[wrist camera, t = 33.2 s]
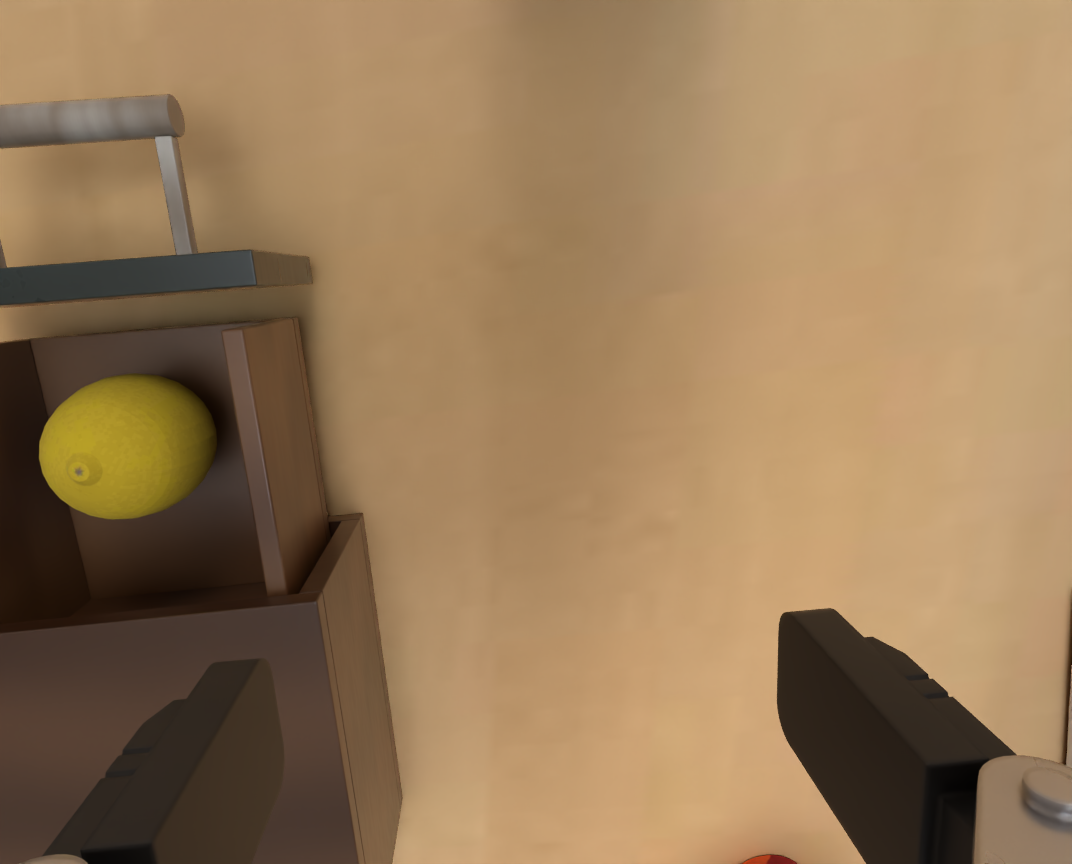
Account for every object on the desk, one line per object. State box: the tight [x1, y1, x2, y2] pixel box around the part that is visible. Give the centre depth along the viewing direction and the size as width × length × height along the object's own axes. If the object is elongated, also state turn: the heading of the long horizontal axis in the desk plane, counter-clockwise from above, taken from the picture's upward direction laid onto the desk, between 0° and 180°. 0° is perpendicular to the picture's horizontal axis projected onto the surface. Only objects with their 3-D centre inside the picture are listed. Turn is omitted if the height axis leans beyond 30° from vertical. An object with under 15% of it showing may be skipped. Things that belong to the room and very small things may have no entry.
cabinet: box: [0, 513, 402, 864], centre depth 31 cm, size 17×15×10 cm
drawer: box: [0, 94, 331, 624], centre depth 28 cm, size 21×14×8 cm, turn 4°
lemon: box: [39, 373, 217, 519], centre depth 27 cm, size 6×6×8 cm
